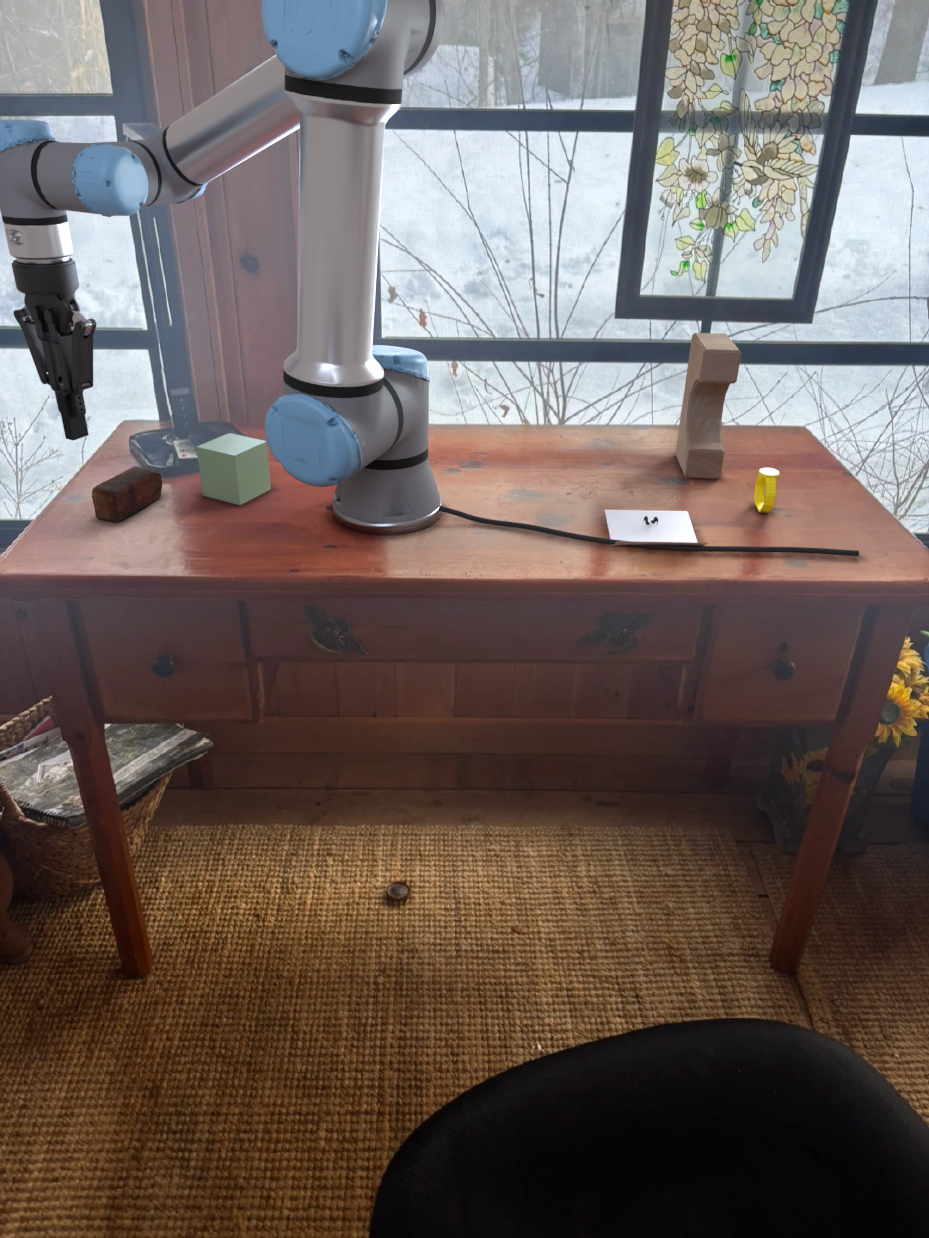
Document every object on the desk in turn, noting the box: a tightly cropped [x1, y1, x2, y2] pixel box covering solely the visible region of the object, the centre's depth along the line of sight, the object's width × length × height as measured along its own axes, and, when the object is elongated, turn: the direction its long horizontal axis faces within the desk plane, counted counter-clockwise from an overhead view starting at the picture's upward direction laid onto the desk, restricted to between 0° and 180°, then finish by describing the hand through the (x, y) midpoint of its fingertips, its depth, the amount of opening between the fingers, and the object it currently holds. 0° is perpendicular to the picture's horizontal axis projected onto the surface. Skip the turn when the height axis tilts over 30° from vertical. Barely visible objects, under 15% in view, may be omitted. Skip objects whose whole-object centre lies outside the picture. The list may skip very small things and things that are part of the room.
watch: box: [753, 467, 780, 514], centre depth 132 cm, size 6×3×6 cm, turn 177°
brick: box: [91, 466, 163, 523], centre depth 128 cm, size 11×4×5 cm, turn 162°
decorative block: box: [674, 332, 742, 480], centre depth 142 cm, size 11×6×20 cm, turn 176°
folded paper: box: [604, 509, 708, 547], centre depth 124 cm, size 12×12×2 cm
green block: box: [195, 432, 272, 506], centre depth 133 cm, size 7×7×8 cm
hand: (77, 436), depth 128 cm, fingers closed
